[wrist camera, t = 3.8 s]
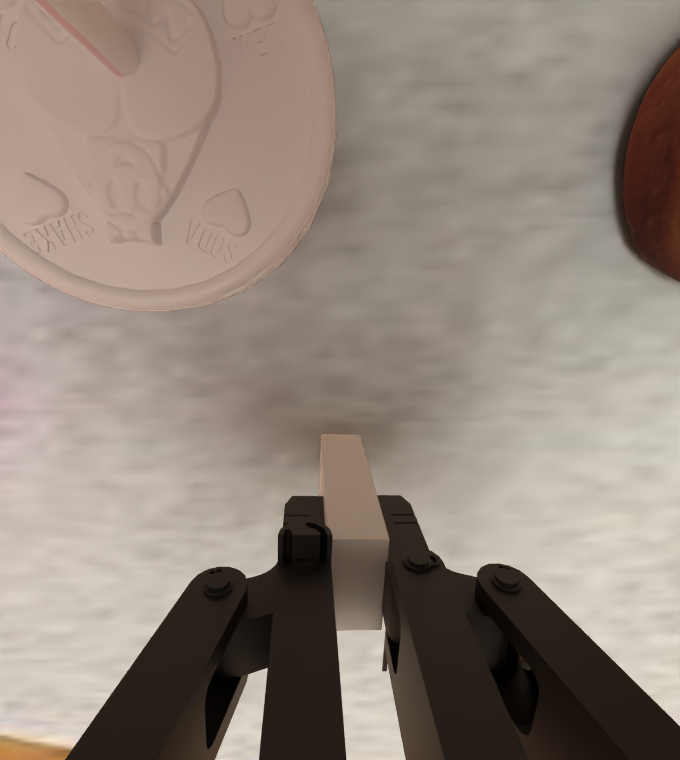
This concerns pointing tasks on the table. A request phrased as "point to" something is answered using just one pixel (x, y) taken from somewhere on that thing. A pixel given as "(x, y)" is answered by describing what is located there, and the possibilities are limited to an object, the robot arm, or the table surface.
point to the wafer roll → (656, 172)
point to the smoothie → (161, 144)
